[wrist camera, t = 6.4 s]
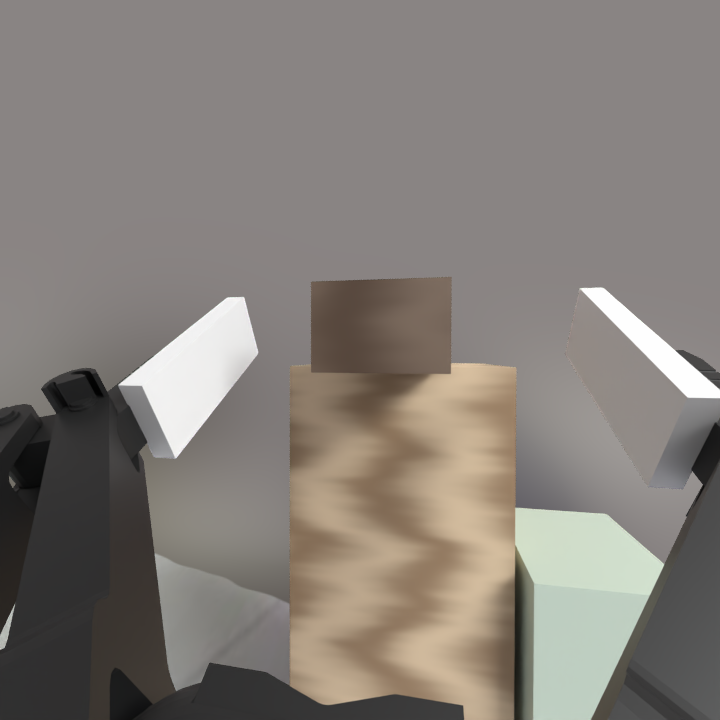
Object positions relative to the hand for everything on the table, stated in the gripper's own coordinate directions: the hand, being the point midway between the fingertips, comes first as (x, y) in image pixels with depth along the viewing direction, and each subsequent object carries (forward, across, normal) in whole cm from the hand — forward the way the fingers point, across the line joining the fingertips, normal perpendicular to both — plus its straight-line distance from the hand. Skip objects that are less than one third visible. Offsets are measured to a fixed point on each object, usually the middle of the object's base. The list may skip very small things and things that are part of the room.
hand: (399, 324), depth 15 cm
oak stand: (-7, 0, -33) cm, 34 cm away
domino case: (+6, 0, -6) cm, 8 cm away
